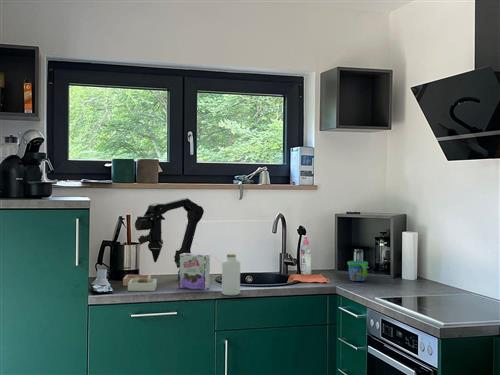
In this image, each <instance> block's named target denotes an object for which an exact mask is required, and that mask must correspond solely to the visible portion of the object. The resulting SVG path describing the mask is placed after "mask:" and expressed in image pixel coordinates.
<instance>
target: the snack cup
mask: <svg viewBox="0 0 500 375" xmlns="http://www.w3.org/2000/svg"><path fill="white" fill-rule="evenodd" d="M347 265H348V273H349V279H350V281H351V280H355V281H363V282H365V281H366V277H367V276H368V265H369V262H368V261H365V260H364V261H362V260H349V261H347ZM364 280H365V281H364Z"/></svg>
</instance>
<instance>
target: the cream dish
mask: <svg viewBox="0 0 500 375" xmlns="http://www.w3.org/2000/svg"><path fill="white" fill-rule="evenodd" d="M138 280H139V279H131V280H130V281H129V283H128V286H127V292H128V293H154V292H155V290H156V288H157V285H158V284H157V278H151V279H148V283H138Z"/></svg>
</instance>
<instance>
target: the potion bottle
mask: <svg viewBox="0 0 500 375" xmlns="http://www.w3.org/2000/svg"><path fill="white" fill-rule="evenodd" d="M236 258H237V255H236V254H234V253H229V254H226V258H225V259H224V260H223V261H222V262H221V294H223V295H225V296H238V295H239V294H240V292H241V262H240V260H239V259H236Z"/></svg>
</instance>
